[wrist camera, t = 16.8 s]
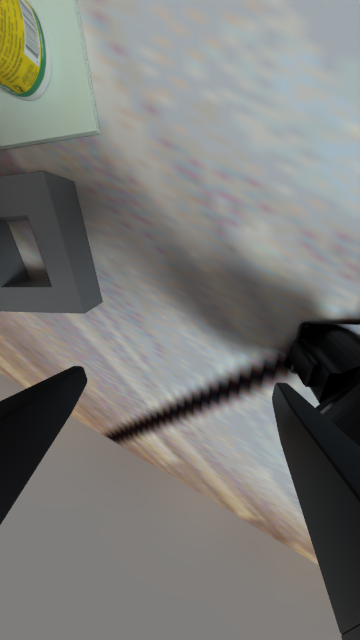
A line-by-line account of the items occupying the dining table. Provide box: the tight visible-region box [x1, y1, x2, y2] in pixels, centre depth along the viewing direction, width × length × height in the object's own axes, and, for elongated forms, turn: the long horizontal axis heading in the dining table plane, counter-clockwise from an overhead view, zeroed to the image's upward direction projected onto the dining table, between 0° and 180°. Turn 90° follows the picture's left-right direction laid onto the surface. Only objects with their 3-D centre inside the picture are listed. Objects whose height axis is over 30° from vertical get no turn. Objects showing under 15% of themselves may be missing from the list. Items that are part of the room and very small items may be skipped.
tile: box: [0, 0, 100, 149], centre depth 14 cm, size 10×10×1 cm
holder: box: [0, 171, 102, 313], centre depth 20 cm, size 12×12×4 cm
